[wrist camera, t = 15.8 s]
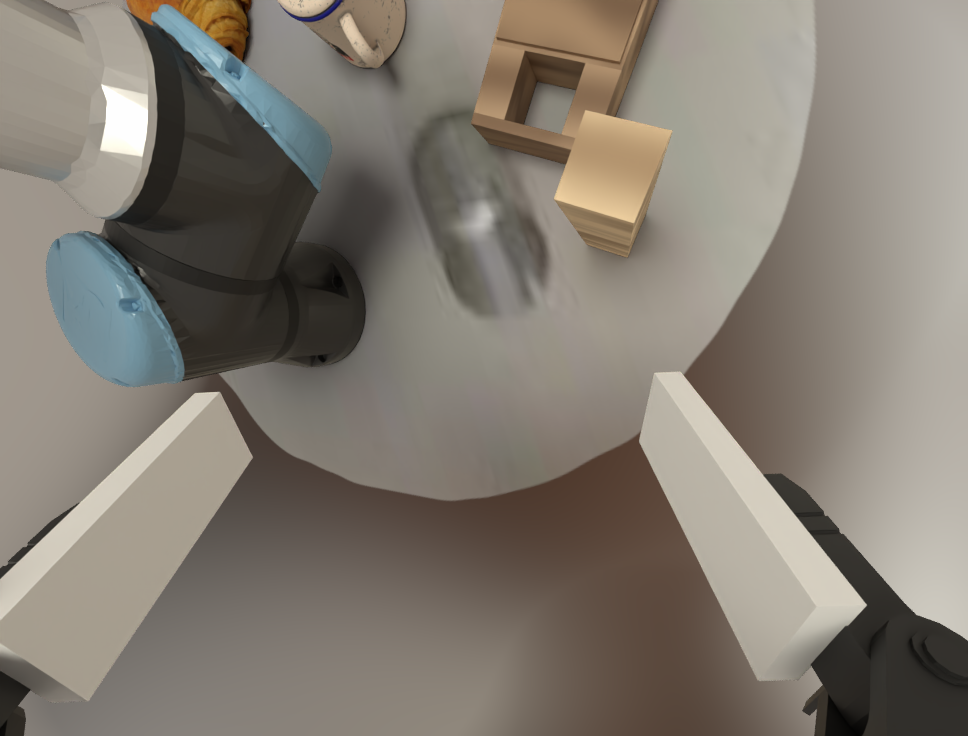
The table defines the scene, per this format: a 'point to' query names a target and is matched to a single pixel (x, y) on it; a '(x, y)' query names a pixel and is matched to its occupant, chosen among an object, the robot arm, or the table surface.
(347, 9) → the teacup with lid
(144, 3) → the croissant
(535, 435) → the table surface
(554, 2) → the wooden sliding lid box
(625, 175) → the wooden key peg
